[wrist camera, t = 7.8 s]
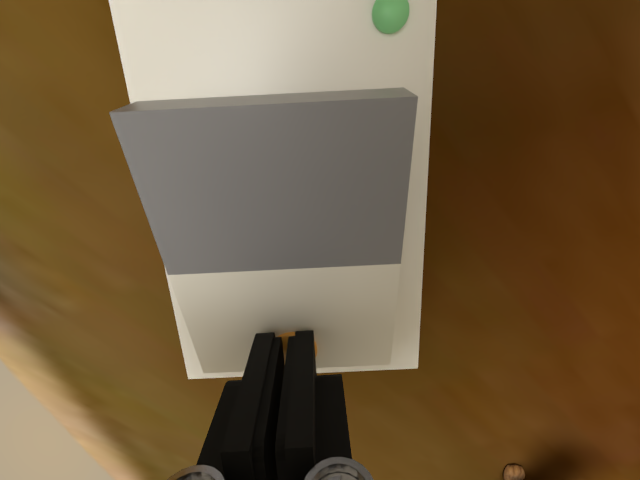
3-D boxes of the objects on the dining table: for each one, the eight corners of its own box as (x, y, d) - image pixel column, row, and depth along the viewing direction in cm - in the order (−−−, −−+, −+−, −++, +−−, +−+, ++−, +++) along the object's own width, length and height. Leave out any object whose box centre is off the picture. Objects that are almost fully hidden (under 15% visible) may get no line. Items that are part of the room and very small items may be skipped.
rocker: (397, 83, 8) (419, 97, 6) (380, 323, 12) (391, 368, 11) (147, 96, 8) (104, 113, 6) (217, 330, 12) (202, 377, 11)
